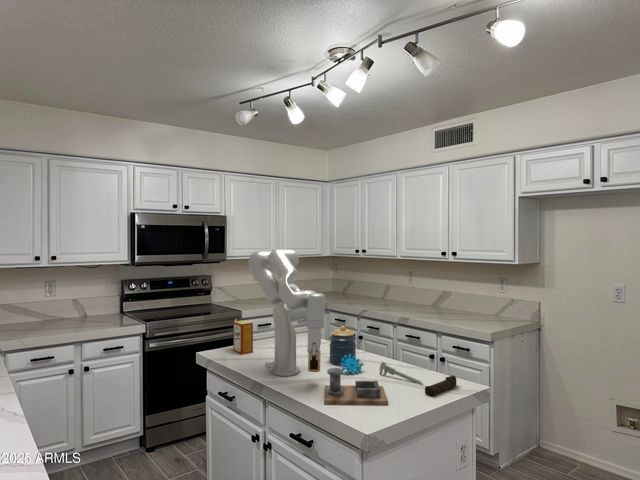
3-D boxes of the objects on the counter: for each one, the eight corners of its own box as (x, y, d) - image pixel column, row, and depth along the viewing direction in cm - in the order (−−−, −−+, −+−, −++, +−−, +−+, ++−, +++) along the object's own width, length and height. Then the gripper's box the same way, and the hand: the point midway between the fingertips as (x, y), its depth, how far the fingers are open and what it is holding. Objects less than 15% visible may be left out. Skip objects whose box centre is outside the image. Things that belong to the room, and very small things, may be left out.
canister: (323, 361, 214) (323, 325, 213) (342, 356, 222) (342, 322, 222) (342, 367, 204) (342, 329, 204) (361, 362, 212) (361, 326, 212)
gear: (342, 372, 191) (339, 352, 198) (338, 379, 195) (335, 359, 202) (366, 374, 194) (362, 354, 201) (361, 380, 198) (358, 360, 205)
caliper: (379, 375, 193) (379, 361, 193) (380, 375, 194) (380, 360, 194) (422, 385, 181) (422, 370, 180) (423, 384, 181) (423, 369, 181)
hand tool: (432, 398, 166) (432, 386, 166) (424, 395, 169) (424, 383, 169) (462, 387, 178) (462, 376, 178) (453, 385, 181) (453, 373, 181)
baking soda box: (233, 350, 233) (233, 320, 233) (244, 349, 237) (244, 319, 237) (241, 354, 226) (241, 323, 225) (252, 352, 230) (252, 322, 229)
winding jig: (324, 404, 159) (324, 376, 159) (324, 389, 175) (325, 364, 175) (388, 405, 159) (388, 377, 159) (382, 389, 175) (382, 364, 174)
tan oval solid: (307, 372, 179) (308, 352, 178) (308, 368, 184) (308, 349, 183) (320, 372, 178) (320, 353, 178) (320, 368, 183) (320, 349, 183)
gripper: (307, 318, 189) (306, 360, 189) (304, 327, 172) (303, 373, 172) (324, 319, 189) (323, 361, 189) (324, 328, 172) (322, 374, 172)
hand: (314, 366), depth 181 cm, fingers closed on tan oval solid, 4 cm apart
